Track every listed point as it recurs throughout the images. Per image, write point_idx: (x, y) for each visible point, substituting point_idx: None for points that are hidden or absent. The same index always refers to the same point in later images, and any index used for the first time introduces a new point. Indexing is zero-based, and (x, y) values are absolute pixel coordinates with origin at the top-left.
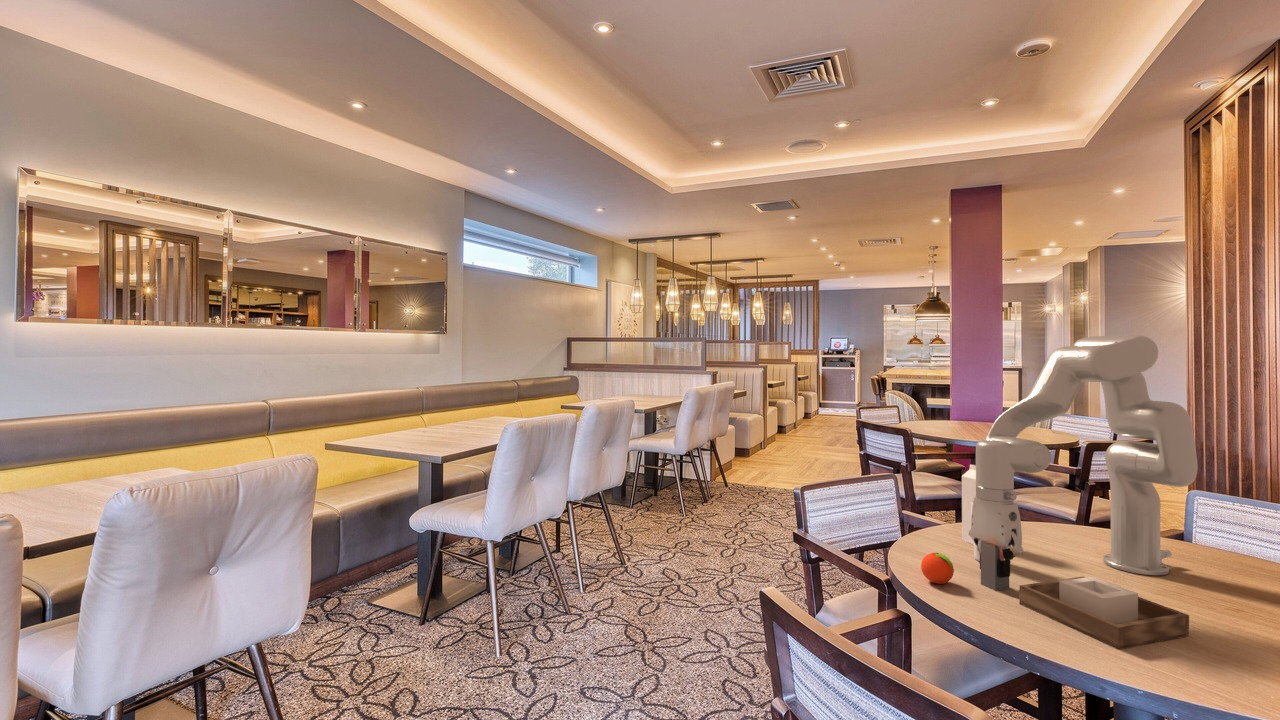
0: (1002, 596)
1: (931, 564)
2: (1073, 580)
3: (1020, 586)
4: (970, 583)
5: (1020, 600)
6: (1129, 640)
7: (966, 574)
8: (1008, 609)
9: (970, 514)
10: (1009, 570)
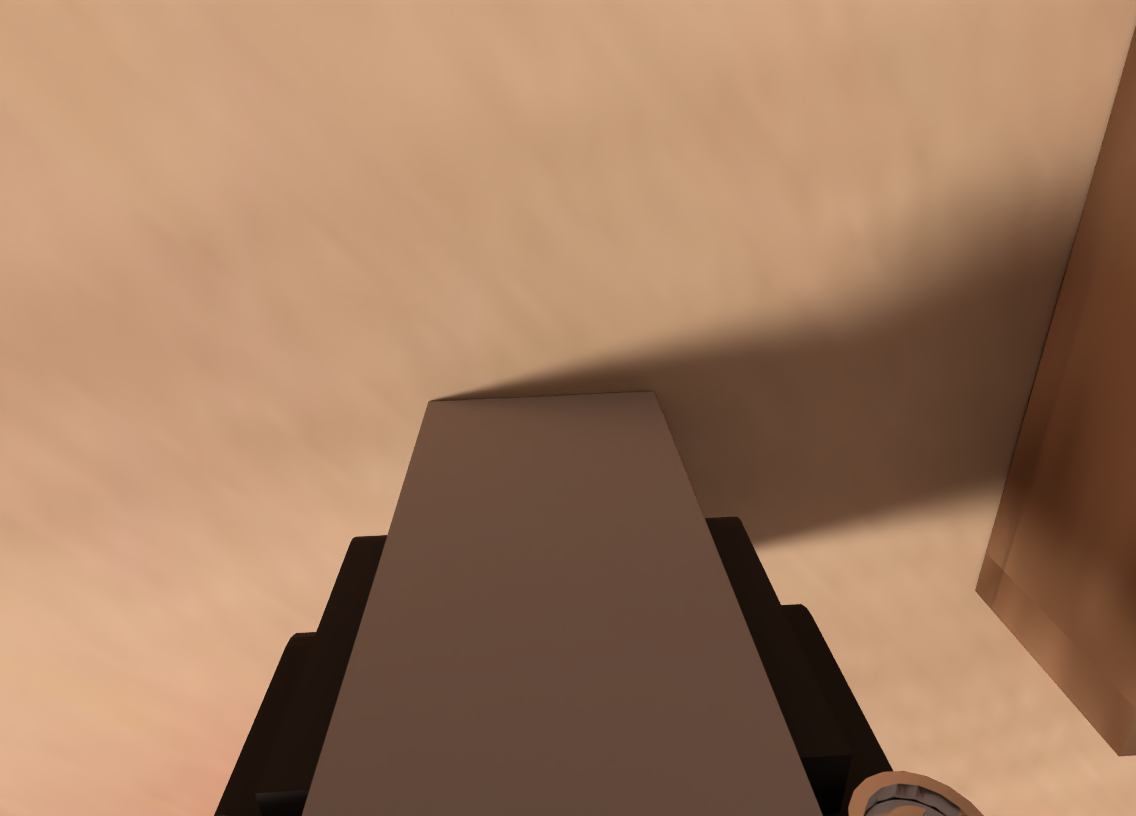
0: (781, 603)
1: None
2: None
3: (1128, 749)
4: None
5: (1008, 615)
6: None
7: (134, 529)
8: (988, 734)
9: None
10: (816, 643)
